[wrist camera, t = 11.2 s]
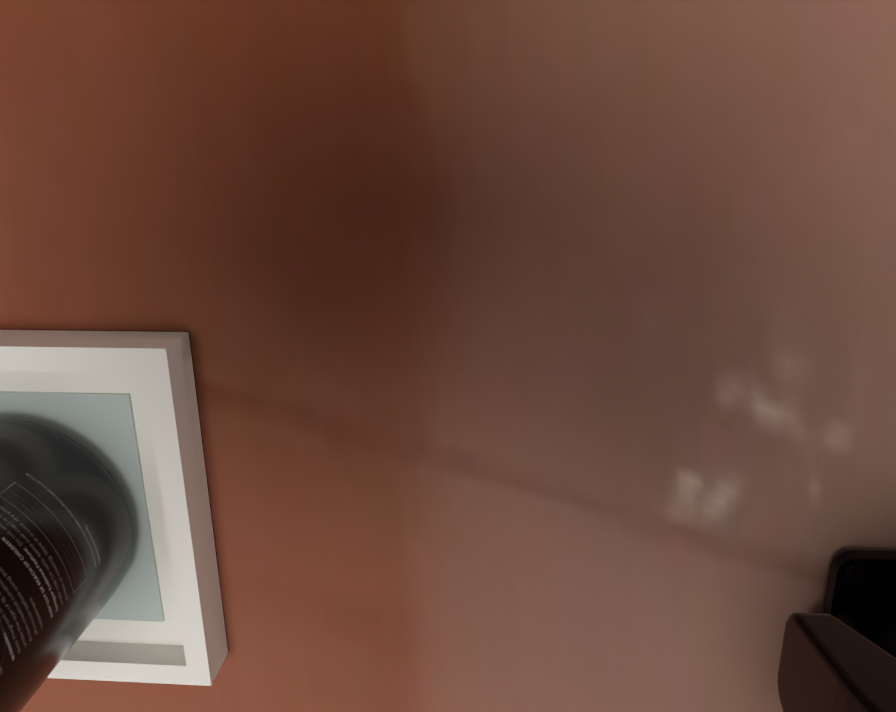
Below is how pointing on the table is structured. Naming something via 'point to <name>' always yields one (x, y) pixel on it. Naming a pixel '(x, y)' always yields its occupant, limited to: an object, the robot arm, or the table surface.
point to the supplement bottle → (53, 550)
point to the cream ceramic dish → (133, 492)
